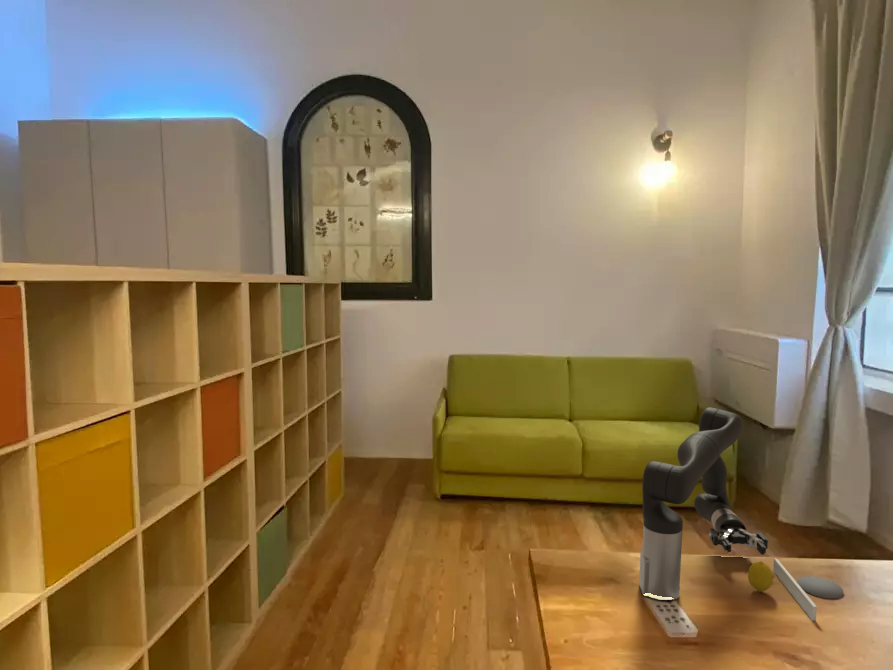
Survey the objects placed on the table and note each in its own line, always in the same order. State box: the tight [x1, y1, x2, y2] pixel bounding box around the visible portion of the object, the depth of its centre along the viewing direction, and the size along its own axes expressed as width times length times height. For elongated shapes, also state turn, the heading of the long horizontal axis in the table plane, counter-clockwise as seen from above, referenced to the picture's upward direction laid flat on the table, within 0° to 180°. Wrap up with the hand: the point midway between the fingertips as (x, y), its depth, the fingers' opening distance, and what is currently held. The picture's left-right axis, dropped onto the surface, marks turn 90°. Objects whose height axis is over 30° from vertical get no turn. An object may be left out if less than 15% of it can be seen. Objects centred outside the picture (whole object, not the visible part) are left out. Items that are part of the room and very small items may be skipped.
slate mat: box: [797, 575, 844, 600], centre depth 159 cm, size 10×10×1 cm
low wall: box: [772, 558, 818, 622], centre depth 156 cm, size 1×24×4 cm, turn 172°
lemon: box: [747, 560, 774, 593], centre depth 157 cm, size 6×6×8 cm
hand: (746, 550), depth 167 cm, fingers open, 8 cm apart
